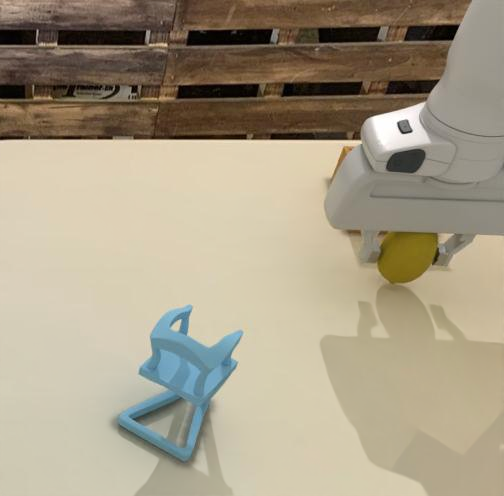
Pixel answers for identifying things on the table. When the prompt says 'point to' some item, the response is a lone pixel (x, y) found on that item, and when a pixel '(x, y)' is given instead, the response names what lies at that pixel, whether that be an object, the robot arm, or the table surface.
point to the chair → (181, 376)
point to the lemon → (406, 255)
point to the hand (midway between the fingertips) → (401, 261)
